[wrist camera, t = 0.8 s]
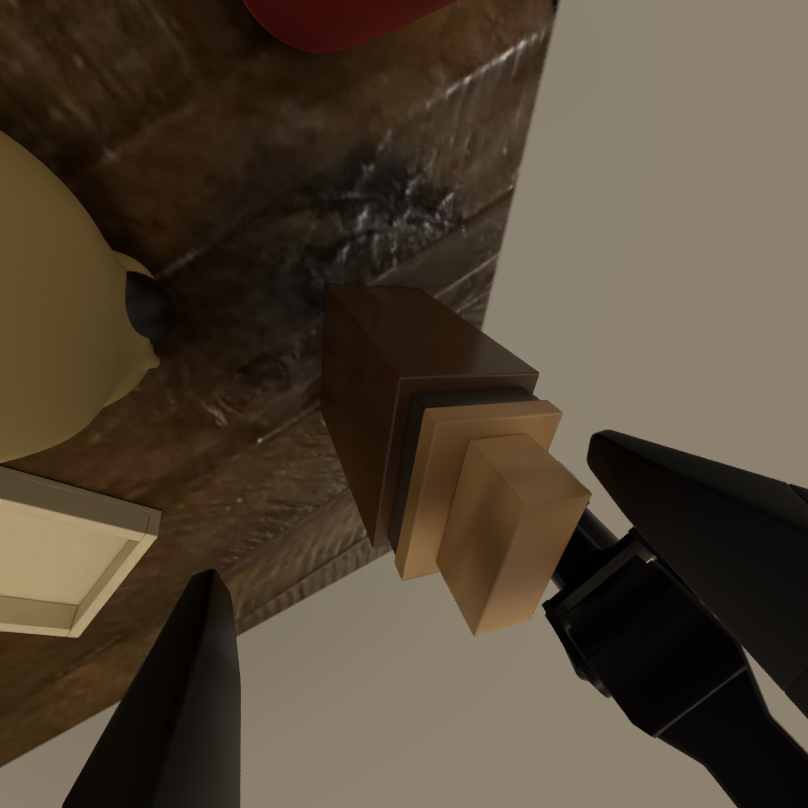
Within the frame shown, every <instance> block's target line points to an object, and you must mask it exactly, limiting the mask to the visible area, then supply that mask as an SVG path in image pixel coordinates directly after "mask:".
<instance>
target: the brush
mask: <svg viewBox="0 0 808 808" xmlns="http://www.w3.org/2000/svg"><path fill="white" fill-rule="evenodd" d="M562 414H563V413H562V411H560V410H559V409H558V408H556V407H555V406H554V405H553V404H551V403H550V402H549V401H547V400H539V399H538V398H537V397H535V396H534V395H533V394H532V393H531V392H529V391H528V390H527V389H525V388H524V387H521V388H503V389H484V390H466V391H447V392H429V393H414V394H413V398H412V404H411V410H410V415H409V421H408V427H407V432H406V438H405V443H404V449H403V455H402V460H401V466H400V472H399V477H398V483H397V488H396V494H395V500H394V505H393V511H392V517H391V522H390V528H389V533H388V539H389V542H390V544H391V546H392V549H393V551H394V553H395V556H396V557H395V565H396V567H397V570H398V572H399V575H400V577H401V579H402V580H403V581H404V580H409V579H413V578H417V577H421V576H425V575H429V574H433V573H437V572H441V574H442V576H443V578H444V580H445V581H446V583H447V585H448V587H449V589H450V591H451V593H452V595H453V597H454V599H455V601H456V603H457V605H458V607H459V608H460V611H461V612H462V614H463V616H464V618H465V620H466V622H467V624H468V626H469V628H470V630H471V632H472V634H473V636H474V637H477V636H480V635H483V634H486V633H489V632H492V631H495V630H498V629H501V628H504V627H507V626H510V625H513V624H516V623H519V622H523V621H526V620H529V619H531V617H532V615H533V613H534V611H535V609H536V607H537V605H538V603H539V601H540V598H541V597H542V594H543V592H544V591H545V588H546V586H547V584H548V582H549V580H550V578H551V576H552V574H553V572H554V570H555V568H556V566H557V564H558V562H559V560H560V558H561V556H562V554H563V552H564V550H565V548H566V546H567V544H568V542H569V540H570V538H571V536H572V534H573V532H574V530H575V528H576V526H577V524H578V522H579V519H580V517H581V515H582V513H583V511H584V509H585V507H586V505H587V503H588V501H589V499H590V497H591V495H592V494H591V492H590V491H589V490H588V489H587V488H585V486H583V485H582V484H581V483H580V482H579V481H578V480H577V479H576V478H575V477H574V476H573V475H572V474H571V473H570V472H568V471H567V470H566V469H565V468H564V467H563V466H562V465H561V464H560V463H559V462H558V461H557V460H556V459H555V458H553V457H552V456H551V455H550V454H549V453H548V450H549V447H550V445H551V442H552V440H553V437H554V435H555V432H556V429H557V427H558V424H559V422H560V419H561V417H562Z"/></svg>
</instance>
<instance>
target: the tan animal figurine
mask: <svg viewBox="0 0 808 808" xmlns="http://www.w3.org/2000/svg"><path fill="white" fill-rule="evenodd" d="M175 320H176V308H175V303H174V301H173V299H172V297H171V296H170V294H169V293H168V292H167V290H166V289H165V288H164V287H163V286H162V285H161V284H160V283H158V282H157V281H156V280H155V279H154V277H153V276H152V274H151V273H150V272H149V271H148V270H147V268H146V267H144V266H143V265H142V264H141V263H139V262H138V261H136V260H135V259H133V258H131V257H129V256H127V255H125V254H122V253H119V252H116V251H113V250H112V249H111V248H110V246H109V245H108V243H107V242H106V240H105V239H104V237H103V236H102V234H101V232H100V231H99V229H98V227H97V226H96V224H95V223H94V221H93V220H92V218H91V217H90V215H89V214H88V212H87V211H86V210H85V208H84V207H83V206H82V204H81V203H80V202H79V200H78V199H77V198H76V197H75V196H74V194H73V193H72V192H71V191H70V190H69V189H68V188H67V187H66V185H65V184H64V183H63V182H62V181H61V180H60V179H59V178H58V177H57V176H56V175H55V174H54V173H53V172H52V171H51V170H50V169H48V168H47V167H46V166H45V165H44V164H43V163H42V162H41V161H40V160H38V159H37V158H36V157H35V156H34V155H33V154H31V153H30V152H29V151H28V150H26V149H25V148H24V147H23V146H21V145H20V144H19V143H17V142H16V141H15V140H13V139H12V138H11V137H9V136H8V135H6V134H5V133H3V132H2V131H1V130H0V463H2V462H6V461H10V460H14V459H17V458H21V457H24V456H27V455H31V454H34V453H37V452H40V451H42V450H45V449H48V448H51V447H53V446H55V445H58V444H60V443H62V442H64V441H66V440H68V439H69V438H71V437H73V436H74V435H76V434H77V433H79V432H80V431H81V430H82V429H84V428H85V427H86V426H87V425H88V424H89V423H90V422H91V421H92V420H93V419H94V418H95V417H96V416H97V414H98V413H99V412H100V411H101V409H102V408H104V407H106V406H108V405H110V404H112V403H114V402H116V401H117V400H119V399H121V398H122V397H124V396H125V395H127V394H128V393H129V392H130V391H132V390H133V389H134V388H135V387H136V386H137V385H138V384H139V383H140V381H141V380H142V379H143V377H144V376H145V374H146V373H147V371H148V369H152V368H156V367H158V366H159V364H160V360H159V358H158V357H157V356H156V355H155V354H154V346H153V344H156V343H158V342H159V341H161V340H162V339H164V338H165V337H166V336H167V335H168V334H169V333H170V332H171V330H172V328H173V326H174V324H175Z"/></svg>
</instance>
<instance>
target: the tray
mask: <svg viewBox="0 0 808 808" xmlns="http://www.w3.org/2000/svg"><path fill="white" fill-rule="evenodd" d="M161 513H162V511H160V510H156V509H152V508H149V507H145V506H142V505H138V504H135V503H131V502H127V501H124V500H120V499H117V498H113V497H110V496H106V495H102V494H99V493H95V492H92V491H88V490H85V489H81V488H77V487H74V486H70V485H67V484H63V483H60V482H56V481H52V480H49V479H45V478H42V477H38V476H35V475H31V474H27V473H24V472H20V471H17V470H13V469H10V468H6V467H3V466H0V631H7V632H18V633H29V634H41V635H52V636H63V637H64V636H66V637H75V638H78V637H79V636H80V635H81V633H82V632H83V631H84V629H85V628H86V627H87V626H88V624H89V623H90V622H91V621H92V619H93V618H94V617H95V616H96V614H97V613H98V612H99V610H100V609H101V608H102V607H103V605H104V604H105V603H106V602H107V600H108V599H109V598H110V596H111V595H112V594H113V593H114V591H115V590H116V589H117V588H118V586H119V585H120V584H121V583H122V581H123V580H124V579H125V577H126V576H127V575H128V574H129V572H130V571H131V570H132V569H133V567H134V566H135V565H136V564H137V562H138V561H139V560H140V558H141V557H142V556H143V555H144V553H145V552H146V551H147V550H148V548H149V547H150V546H151V544H152V543H153V542H154V541H155V539H156V538H157V536H158V530H159V524H160V518H161Z"/></svg>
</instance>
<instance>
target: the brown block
mask: <svg viewBox="0 0 808 808" xmlns="http://www.w3.org/2000/svg"><path fill="white" fill-rule="evenodd" d="M538 377H539V372H538V371H536V370H535V369H533V368H532V367H531V366H529V365H528V364H527V363H525V362H524V361H522V360H521V359H520V358H518V357H517V356H515V355H514V354H512V353H511V352H510V351H508V350H507V349H505V348H504V347H503V346H501V345H500V344H498V343H497V342H495V341H494V340H493V339H491V338H490V337H488V336H487V335H486V334H484V333H483V332H481V331H480V330H479V329H477V328H476V327H474V326H473V325H471V324H470V323H469V322H467V321H466V320H464V319H463V318H462V317H460V316H459V315H457V314H456V313H455V312H453V311H452V310H450V309H449V308H447V307H446V306H445V305H443V304H442V303H440V302H439V301H438V300H436V299H435V298H433V297H432V296H430V295H429V294H428V293H426V292H425V291H423V290H422V289H418V288H400V287H382V286H363V285H345V284H327V285H326V303H325V323H324V343H323V363H322V383H321V403H320V409H321V412H322V415H323V417H324V420H325V423H326V425H327V428H328V431H329V433H330V436H331V439H332V441H333V444H334V446H335V449H336V452H337V454H338V457H339V460H340V462H341V465H342V468H343V470H344V473H345V476H346V478H347V481H348V484H349V486H350V489H351V492H352V494H353V497H354V500H355V502H356V505H357V508H358V510H359V513H360V515H361V518H362V521H363V523H364V526H365V529H366V531H367V534H368V537H369V539H370V542H371V545H372V547H373V548H379V547H384V546H388V545H391V544H390V542H389V539H388V533H389V528H390V522H391V517H392V511H393V505H394V500H395V494H396V488H397V483H398V477H399V472H400V466H401V460H402V455H403V449H404V443H405V438H406V432H407V427H408V421H409V415H410V410H411V404H412V398H413V394H414V393H429V392H447V391H466V390H484V389H503V388H521V387H524V388H525V389H527V390H528V391H529V392H531V393H532V394H533V391H534V388H535V385H536V382H537V380H538Z"/></svg>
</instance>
